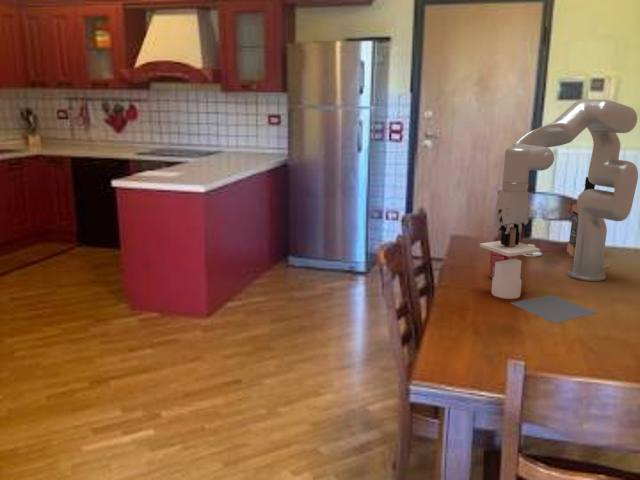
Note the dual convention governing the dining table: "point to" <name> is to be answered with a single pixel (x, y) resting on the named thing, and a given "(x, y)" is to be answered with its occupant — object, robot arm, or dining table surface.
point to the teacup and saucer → (533, 253)
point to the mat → (553, 308)
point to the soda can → (496, 258)
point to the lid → (510, 246)
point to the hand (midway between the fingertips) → (509, 243)
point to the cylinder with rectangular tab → (507, 279)
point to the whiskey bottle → (576, 222)
